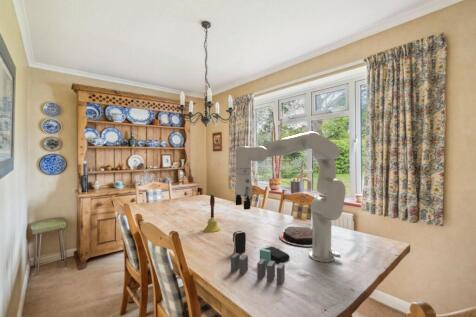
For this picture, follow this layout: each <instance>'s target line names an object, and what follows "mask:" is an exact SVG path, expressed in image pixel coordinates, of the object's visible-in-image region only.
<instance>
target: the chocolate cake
mask: <svg viewBox="0 0 476 317" xmlns="http://www.w3.org/2000/svg"><path fill="white" fill-rule="evenodd" d="M278 236H279V237H278V238H280V240H281V242H284V243H286V244H289V245H291V246H295V247H303V248H312V228H310V227H307V226H306V227H305V226H288V227H286V228H285V229H284V231H283V232H281V233H280V234H279V235H278Z"/></svg>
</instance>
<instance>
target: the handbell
mask: <svg viewBox="0 0 476 317" xmlns="http://www.w3.org/2000/svg"><path fill="white" fill-rule="evenodd" d="M215 202H216V201H215V195H214V194H211V195H210V198H209V206H210V218H208V220H207V225H206V226H205V228H204V229H203V231H204V232H205V233H209V234H211V233H212V234H213V233H218V232H221V231H222V229H221V227H219V226H218V221H217V219H216V218H215V211H214V210H215V209H214V208H215V205H216V203H215Z"/></svg>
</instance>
